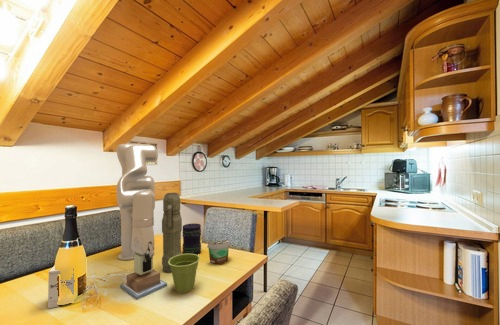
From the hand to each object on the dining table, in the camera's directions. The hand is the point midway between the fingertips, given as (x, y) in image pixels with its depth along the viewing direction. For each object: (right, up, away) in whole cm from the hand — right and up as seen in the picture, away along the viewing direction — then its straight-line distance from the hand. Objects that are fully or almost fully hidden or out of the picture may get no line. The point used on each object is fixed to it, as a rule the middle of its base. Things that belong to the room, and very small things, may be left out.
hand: (143, 268), depth 91 cm
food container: (+28, -7, +22) cm, 37 cm away
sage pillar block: (0, -1, 0) cm, 1 cm away
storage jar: (+10, -8, +35) cm, 37 cm away
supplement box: (-24, -7, -9) cm, 27 cm away
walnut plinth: (0, -7, 0) cm, 7 cm away
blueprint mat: (0, -7, 0) cm, 7 cm away
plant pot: (+17, -7, -2) cm, 18 cm away
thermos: (+6, -8, +15) cm, 18 cm away
